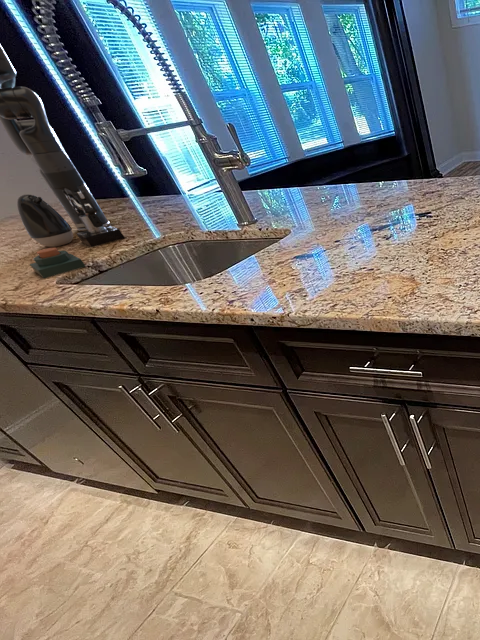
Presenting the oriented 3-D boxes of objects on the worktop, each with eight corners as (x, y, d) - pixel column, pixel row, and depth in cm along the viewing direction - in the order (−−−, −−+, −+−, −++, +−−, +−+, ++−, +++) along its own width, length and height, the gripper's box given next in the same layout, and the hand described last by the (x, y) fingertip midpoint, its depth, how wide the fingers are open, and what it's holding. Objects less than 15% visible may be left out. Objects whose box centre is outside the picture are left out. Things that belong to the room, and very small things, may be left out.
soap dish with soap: (35, 271, 115) (24, 257, 113) (75, 261, 121) (66, 247, 119) (44, 278, 110) (32, 263, 108) (86, 266, 116) (76, 252, 114)
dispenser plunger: (39, 257, 113) (35, 251, 112) (58, 253, 116) (54, 246, 115) (43, 260, 111) (38, 253, 110) (62, 255, 114) (57, 248, 113)
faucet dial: (87, 232, 135) (76, 215, 132) (103, 228, 138) (92, 211, 135) (91, 233, 133) (80, 216, 130) (107, 229, 136) (97, 212, 133)
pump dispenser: (55, 249, 132) (18, 198, 123) (31, 249, 134) (-7, 199, 125) (87, 239, 140) (55, 190, 131) (64, 239, 142) (30, 191, 133)
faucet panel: (82, 242, 137) (75, 232, 135) (114, 234, 143) (109, 225, 141) (91, 247, 132) (84, 236, 130) (125, 238, 138) (118, 228, 136)
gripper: (81, 167, 124) (116, 224, 133) (68, 166, 131) (102, 220, 140) (49, 172, 119) (87, 231, 128) (37, 171, 126) (74, 226, 136)
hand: (95, 225), depth 134 cm, fingers open, 8 cm apart
